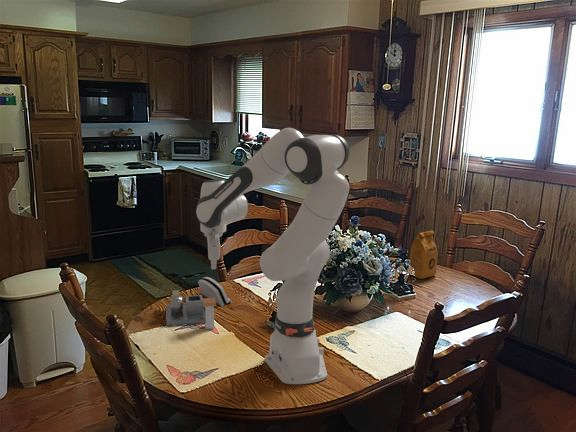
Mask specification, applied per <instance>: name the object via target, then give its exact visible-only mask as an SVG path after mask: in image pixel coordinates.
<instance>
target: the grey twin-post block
mask: <svg viewBox="0 0 576 432" xmlns="http://www.w3.org/2000/svg"><path fill="white" fill-rule="evenodd" d="M202 299H203V294H195V295H186V296H185V303H184V302H183V300H184V299H183V295H181V294H180V290H179V289H178V290H177V289H176V290H172V296H170V305H165V322H166V327H174V326H173V325H177V326H184V325H183V324H188V325H198V324H205V307H203V303H202ZM197 323H198V324H197Z"/></svg>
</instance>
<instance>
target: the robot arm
mask: <svg viewBox="0 0 576 432" xmlns="http://www.w3.org/2000/svg"><path fill="white" fill-rule="evenodd" d="M349 156H350V146H349V143H348V142H347V141H346V139H344V138H343V137H342V136H340V135H338V134H334V133H328V134H327V133H326V134H313V135H308V136H306V137H305V136H304V135H303V133H301V132H300V131H299V130H298V129H296V128H293V127H285V128H282V129H281V130H279V131H278V132H277V133H275V134H274V135H273V136H272V137H270V138H269V139H268V140H267V141H266V142H265V143H264V144H263V146H261V148H260V149H259V150H257V152H256V153H255V154H254V155H253V156H251V158H249V160H248V161H246V163H244V164H243V165H242V166H241V167H239V169H237V170H236V171H235V172H234V173H233V174H231V175H230V176H229V177H227V179H226V180H224V179H220V178H219V179H211V180H210V179H209V180H205V181H204V182H203V183H202V184H201V188H200V197H199V201H198V202H197V204H196V208H195V216H196V219H197V220H198V221H199V223H200V228H199V229H200V232H202V233H203V235H204V237H206V241H207V256H208V260H209V261H210V269H211V270H217V262H218V261H219V260H220V258H221V257H220V256H221V255H220V254H221V249H220V248H221V247H220V245H221V243H220V242H221V241H220V240H221V239H220V237H222V236H223V234H224V233H226V232H227V224H231V223H235V222H238V221H241V220H243V219H245V218H246V217H247V216H248V214H249V209H250V208H249V207H250V206H249V201H248V199H247V197H246V196H245V195H244V194H246V193H249V192H251V191H255V190H258V189H261V188H266V187H270V186H273V185H275V184H277V183H278V182H280V181H282V180H283V179H284V178H285V177H287V175H289V174H290V173H291V175H293V176H294V177H296V178H297V179H298V180H299V181H300V182H301V183H302V184H305V185H309V189H308V191H307V192H306V195H305V197H304V199H303V201H302V203H301V205H300V207H299V209H298V211H297V213H296V215H295V217H294V219H293V220H292V221H291V223H290V224H289V226H288V227H287V228H286V229H285V230H284V231H283V233H281V235H280V236H279V237H278V239H277V240H276V241H274V242H273V244H272V245H271V246H270V247H268V248H267V249H265V250H264V251H263V252H261V256H260V259H259V264H260V269H261V272H262V274H263V276H265V277H266V278H267V279H268V280H270V281H272V282H280V281H281V282H283V281H284V282H283V284H282V285H281V286H280V288H279V290H278V292H277V295H276V303H277V304H276V315H275V318H274V323H275V324H274V327H275V329H274V331H273V332H272V333H271V334H270V339H269V340H270V341H269V353H268V354H266V355H265V356H264V359H263V360H264V362H265V363H266V365H267V366H268V367H269V368H270V369H271V371H273V372H274V374H275V375H276V376H277V378H278V379H279V380H280V381H281V382H282V383H284V384H287V385H306V384H307V385H308V384H314V383H319V382H321V381H324V380H325V379H327V378H328V372H327V368H326V365H325V364H326V363H325V359H324V353H325V350H324V347H321V346H319V343H320V338H319V337H317V334H316V333H317V330H316V329H315V320H314V315H313V307H314V305H313V304H314V294H315V291H316V286H317V283H318V280H319V277H320V274H321V272H322V270H323V268H324V266H325V265H326V264H327V262H328V261H329V259H330V256H331V250H330V246H329V243H328V242H327V238H329V236H330V234H331V233H332V230H333V229H334V227H335V225H336V224H337V222H338V219H339V217H340V216H341V214H342V212H343V209H344V207H345V205H346V202H347V199H348V195H349V192H350V183H349V181H348V179H347V178H346V177H345V176H344V175H343V174H341V173H339V171H338V170H339V169H341V168H342V167H344V166H345V165H346V163H347V162H348V160H349Z"/></svg>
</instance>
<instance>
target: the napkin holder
mask: <svg viewBox="0 0 576 432" xmlns="http://www.w3.org/2000/svg"><path fill="white" fill-rule="evenodd" d="M197 283H198V286H199V289H200V293H201V295H202V296H204V297H205V298H215V300H216V305H219V306H220V307H224V306H225V304H228V303H229V304H233V301H232V299H231V298H229V297H228V296H227V294H226V291H225V289H224V287H223V286H222V285H221V284H220V283H219V282H218V281H216V280H215V279H214V278H211V277H209V276H205V277H202V279H199V280H198V281H197Z"/></svg>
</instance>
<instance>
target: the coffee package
mask: <svg viewBox="0 0 576 432" xmlns="http://www.w3.org/2000/svg"><path fill="white" fill-rule="evenodd" d="M433 235H435V232H434V230H429V231H427V230H426V231H422V232H420V233H418V234H417V236H416V237H415V239H414V240H413V242H412V244H411V246H410V247H411V248H410V255H409V263H410V262H411V264H412V266H413V267H414V271H415V277H414V278H417V279H422V280H423V279H426V278H431V277H434V276H436V274H437V270H438V269H437V264H438V256H439V255H438V248H437V244H436V243H435V240H434V236H433Z"/></svg>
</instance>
